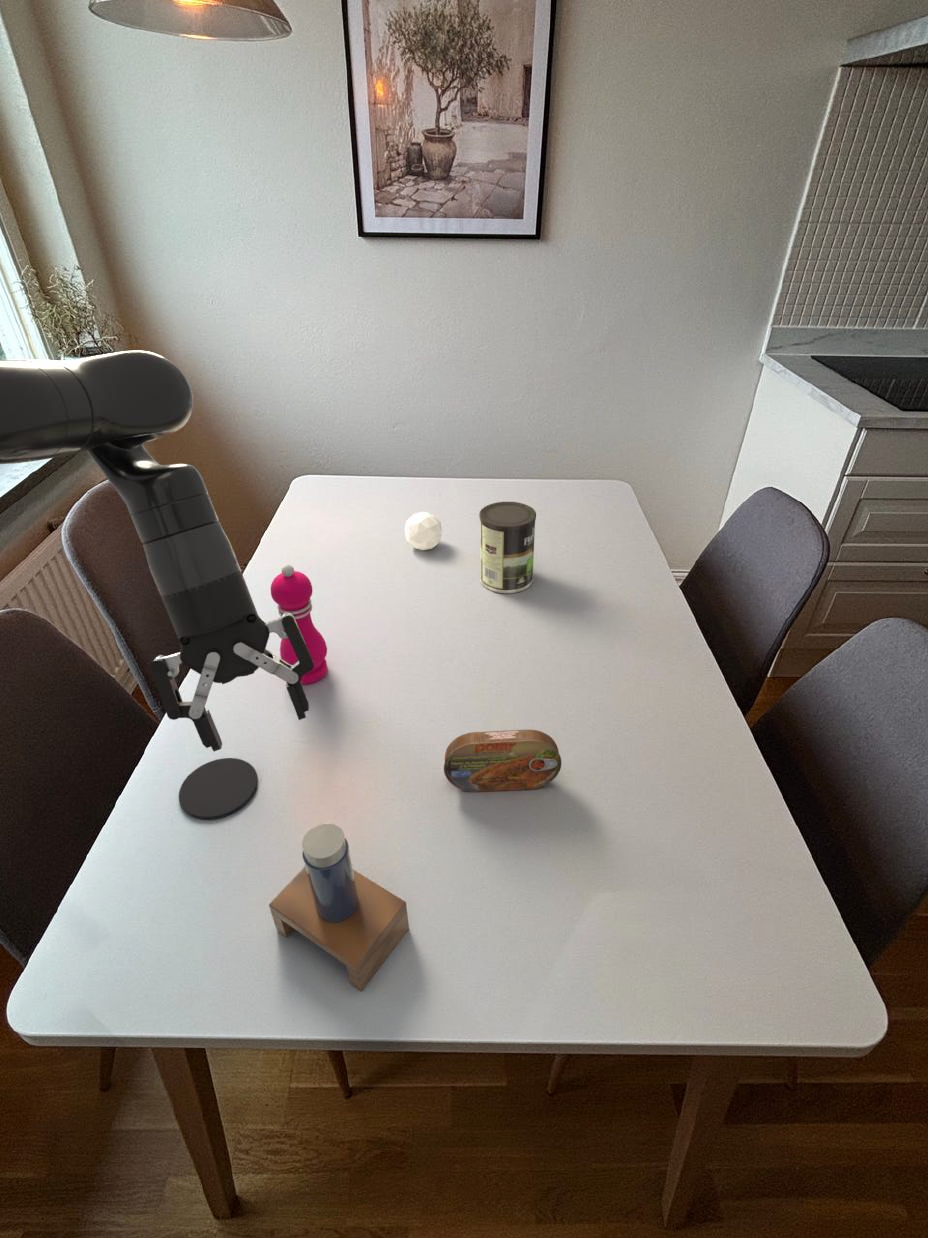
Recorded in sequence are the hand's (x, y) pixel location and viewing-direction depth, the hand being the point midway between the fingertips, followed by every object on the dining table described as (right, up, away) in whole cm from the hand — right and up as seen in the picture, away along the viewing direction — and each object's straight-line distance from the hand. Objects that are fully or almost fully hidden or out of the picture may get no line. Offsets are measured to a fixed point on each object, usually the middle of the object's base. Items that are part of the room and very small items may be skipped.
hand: (261, 732), depth 68 cm
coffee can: (+28, +19, +64) cm, 72 cm away
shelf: (+7, -22, +6) cm, 24 cm away
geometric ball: (+12, +26, +75) cm, 80 cm away
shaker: (+7, -18, +3) cm, 20 cm away
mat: (-12, -11, +22) cm, 28 cm away
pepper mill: (-5, +3, +42) cm, 42 cm away
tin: (+25, -11, +23) cm, 36 cm away
